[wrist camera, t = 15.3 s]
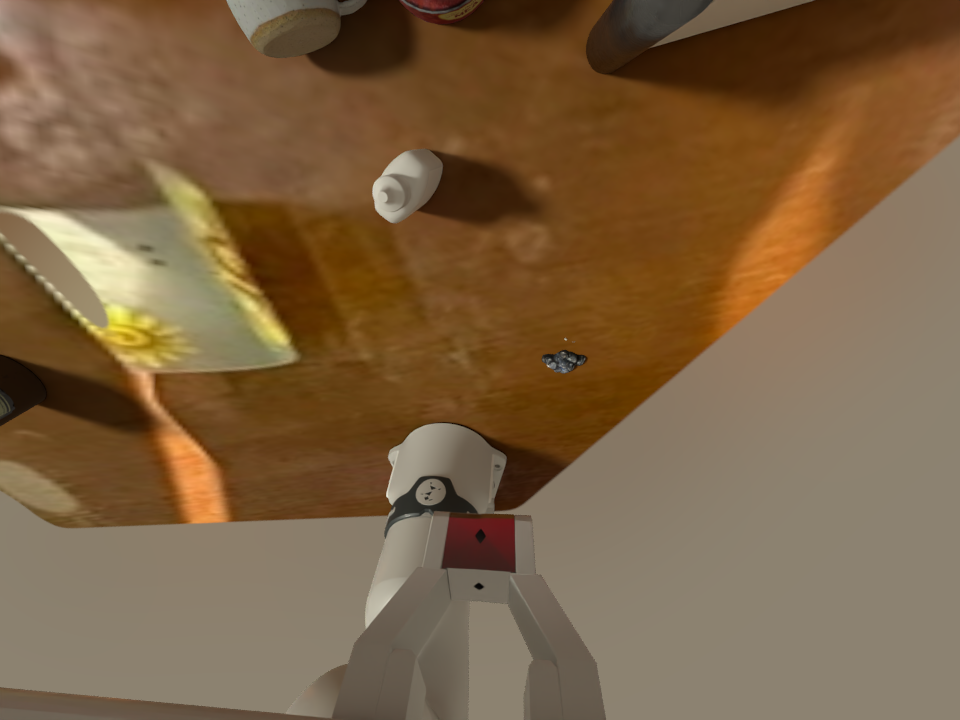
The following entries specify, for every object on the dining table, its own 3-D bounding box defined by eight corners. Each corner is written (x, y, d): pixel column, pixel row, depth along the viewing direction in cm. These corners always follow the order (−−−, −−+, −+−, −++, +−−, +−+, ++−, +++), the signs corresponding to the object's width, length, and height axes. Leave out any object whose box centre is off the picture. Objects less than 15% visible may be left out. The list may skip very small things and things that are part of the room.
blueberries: (531, 334, 43) (531, 341, 41) (598, 329, 41) (600, 337, 40) (535, 377, 46) (535, 385, 45) (597, 374, 45) (599, 383, 43)
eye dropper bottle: (455, 191, 34) (432, 212, 24) (406, 214, 35) (365, 243, 25) (435, 143, 32) (402, 143, 22) (384, 170, 33) (330, 181, 23)
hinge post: (627, 73, 28) (714, 22, 16) (583, 74, 28) (637, 26, 17) (637, 12, 26) (744, -94, 14) (589, 14, 26) (656, -89, 15)
